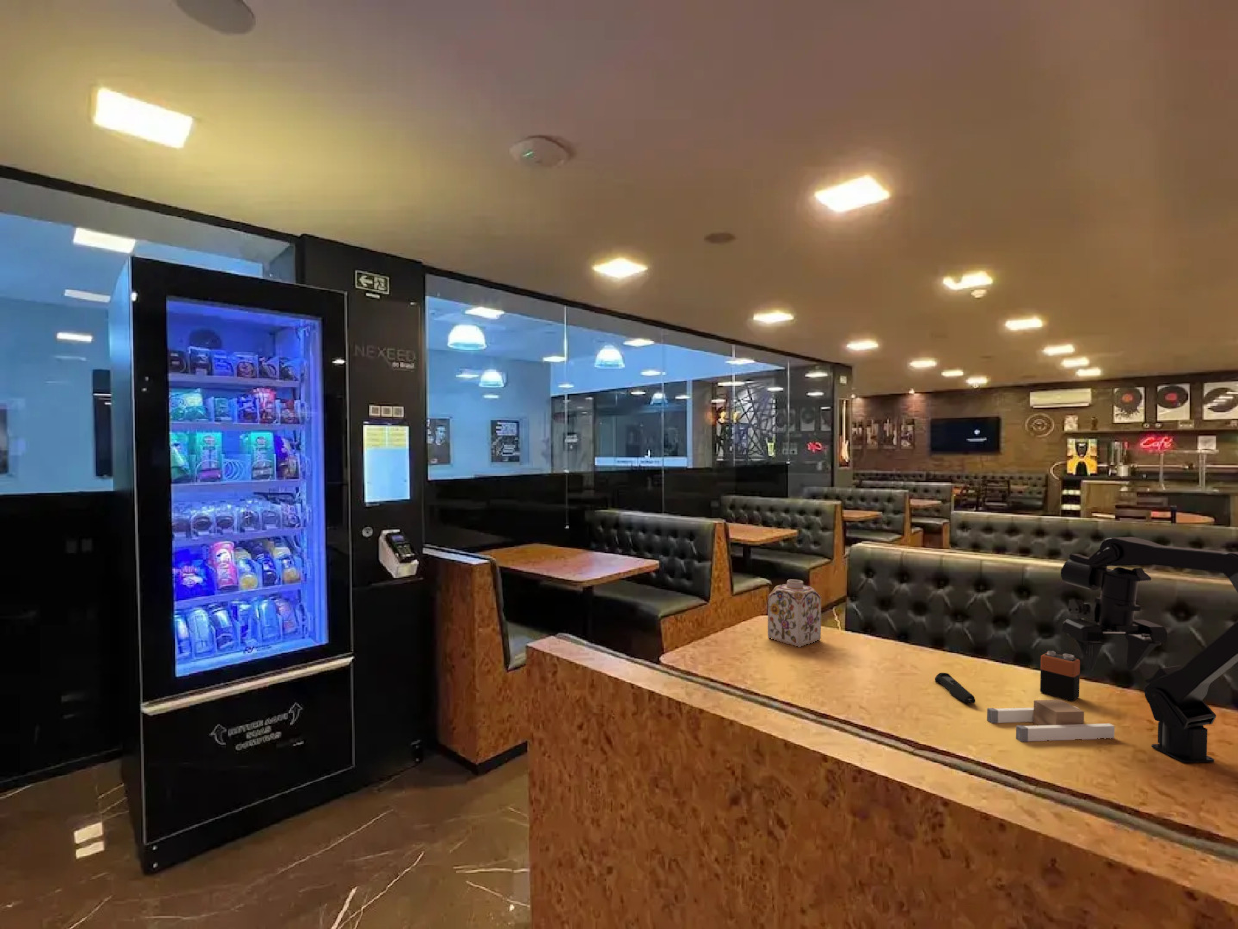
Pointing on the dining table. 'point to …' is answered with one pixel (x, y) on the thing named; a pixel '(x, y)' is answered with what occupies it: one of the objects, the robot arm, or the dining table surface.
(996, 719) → the chute
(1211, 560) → the robot arm
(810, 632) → the decorative jar
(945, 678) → the electric trimmer
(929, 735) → the dining table surface
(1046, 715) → the walnut block
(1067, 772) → the dining table surface
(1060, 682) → the battery
